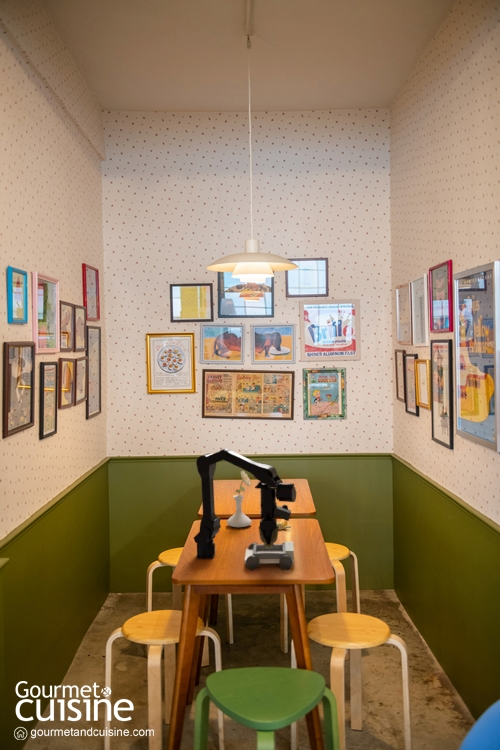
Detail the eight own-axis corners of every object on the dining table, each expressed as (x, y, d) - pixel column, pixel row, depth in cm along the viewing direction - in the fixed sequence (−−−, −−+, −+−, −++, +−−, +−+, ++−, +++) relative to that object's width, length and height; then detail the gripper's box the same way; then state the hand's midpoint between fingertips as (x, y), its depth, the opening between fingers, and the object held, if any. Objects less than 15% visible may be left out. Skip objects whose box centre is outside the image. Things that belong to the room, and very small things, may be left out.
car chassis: (244, 570, 239) (244, 553, 239) (246, 555, 257) (246, 539, 257) (294, 569, 239) (294, 553, 238) (293, 554, 257) (292, 539, 256)
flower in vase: (241, 530, 294) (240, 474, 293) (221, 527, 301) (220, 472, 300) (258, 524, 304) (257, 470, 304) (239, 521, 311) (238, 468, 310)
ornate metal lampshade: (278, 544, 252) (277, 523, 251) (279, 549, 244) (279, 528, 244) (258, 544, 251) (258, 523, 251) (259, 550, 244) (259, 528, 244)
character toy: (292, 522, 293) (275, 524, 291) (292, 530, 293) (275, 531, 291) (286, 518, 300) (270, 520, 298) (286, 525, 300) (270, 527, 298)
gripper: (290, 506, 238) (290, 549, 238) (289, 495, 256) (289, 535, 257) (259, 506, 238) (260, 549, 239) (260, 495, 257) (261, 535, 257)
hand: (268, 541), depth 248 cm, fingers closed on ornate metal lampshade, 6 cm apart
